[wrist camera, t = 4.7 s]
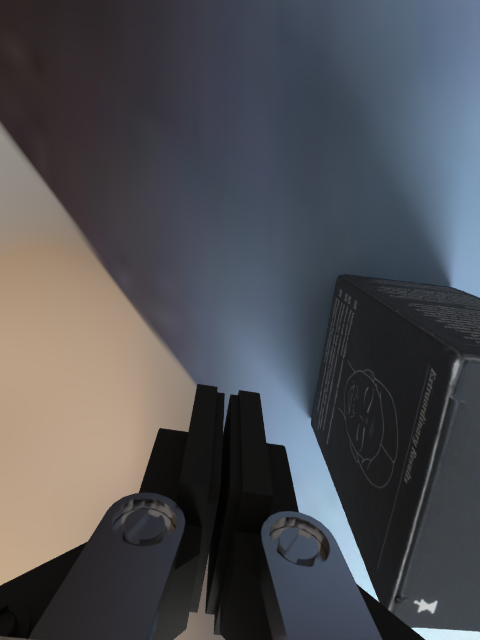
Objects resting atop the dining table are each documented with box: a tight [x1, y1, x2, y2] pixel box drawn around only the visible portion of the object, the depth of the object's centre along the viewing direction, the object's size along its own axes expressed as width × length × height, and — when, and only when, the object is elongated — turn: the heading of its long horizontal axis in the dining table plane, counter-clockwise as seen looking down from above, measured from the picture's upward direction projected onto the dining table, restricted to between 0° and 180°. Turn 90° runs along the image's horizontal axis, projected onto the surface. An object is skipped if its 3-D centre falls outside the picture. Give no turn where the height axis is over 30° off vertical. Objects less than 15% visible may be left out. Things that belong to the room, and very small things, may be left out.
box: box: [311, 274, 480, 632], centre depth 15 cm, size 8×6×11 cm
